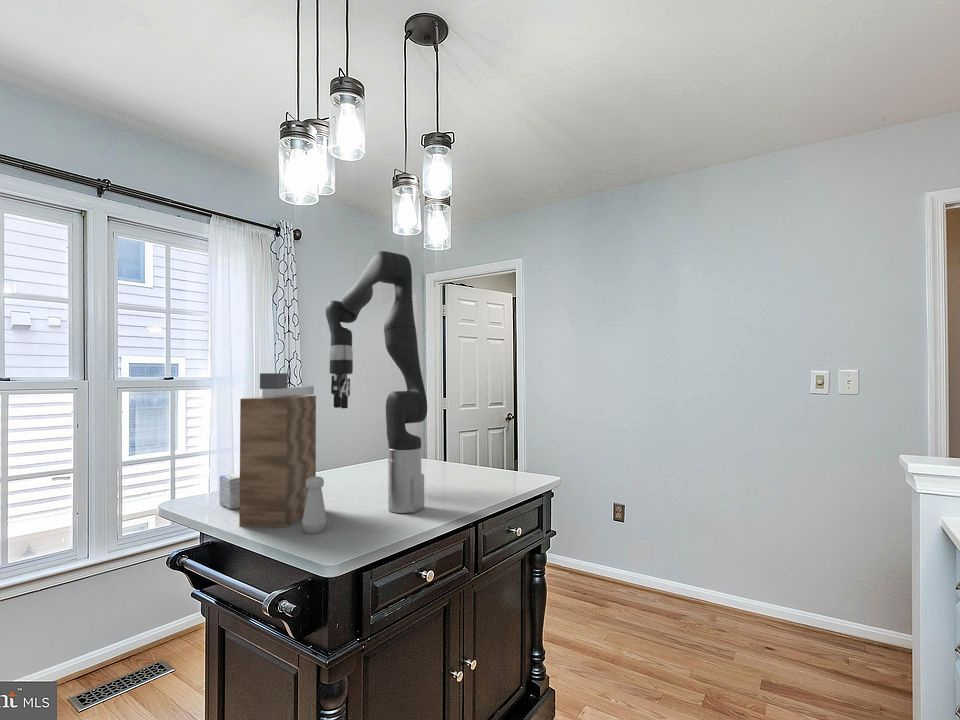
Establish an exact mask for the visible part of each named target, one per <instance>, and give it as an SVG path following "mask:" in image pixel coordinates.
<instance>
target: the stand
mask: <svg viewBox="0 0 960 720" xmlns="http://www.w3.org/2000/svg"><path fill="white" fill-rule="evenodd" d="M239 399H240V400H239V401H240V403H239V404H240V405H239V407H240V408H239V409H240V411H239V412H240V414H239V418H240V419H239V421H240V422H239V425H240V426H239V475H240V508H239V509H238V510H239V515H238V517H239V522H238V523H239V524H238V525H239V527H256V526H261V527H260V528H262V527H263V528H286V527H288V526H290V525H292V524H293V523H295V521H298V520H299V519H300V518H303V514H304V509H305V503H306V498H307V493H308V488H306V479H307V478H310V477H317V476H316V467H317V464H316V463H317V461H316V460H317V459H316V458H317V457H316V455H317V446H316V445H317V434H316V433H317V395H301V396H291V397H282V398H263V396H255V397H245V398H244V397H243V398H239ZM292 522H293V523H292ZM287 525H288V526H287Z"/></svg>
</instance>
